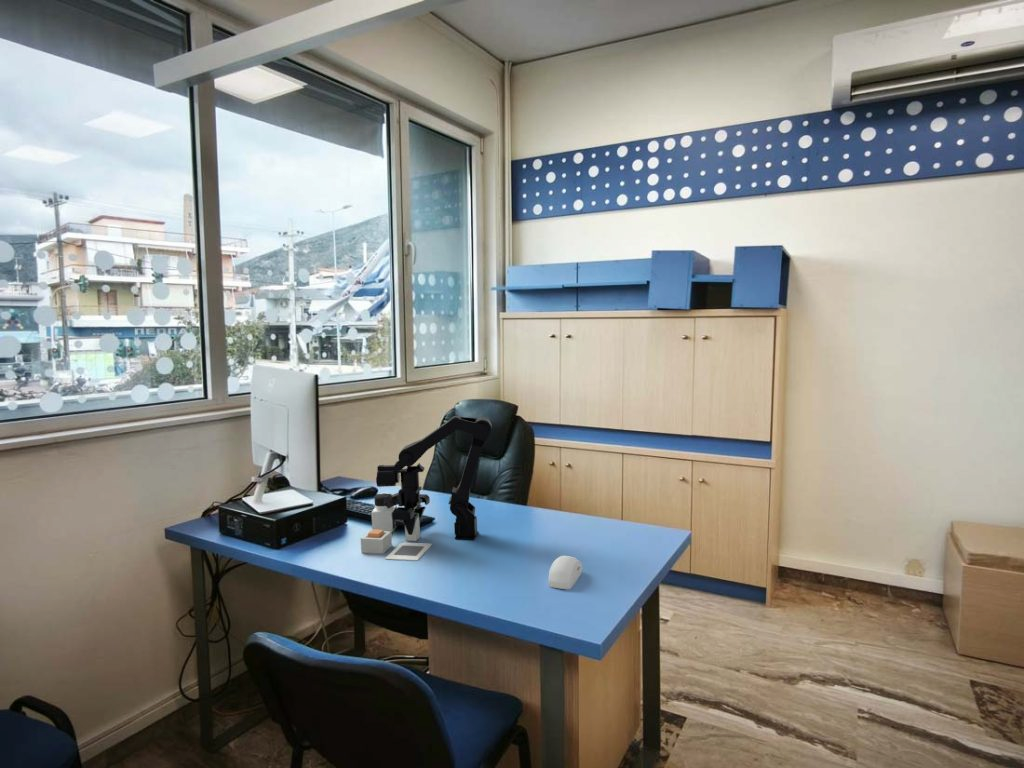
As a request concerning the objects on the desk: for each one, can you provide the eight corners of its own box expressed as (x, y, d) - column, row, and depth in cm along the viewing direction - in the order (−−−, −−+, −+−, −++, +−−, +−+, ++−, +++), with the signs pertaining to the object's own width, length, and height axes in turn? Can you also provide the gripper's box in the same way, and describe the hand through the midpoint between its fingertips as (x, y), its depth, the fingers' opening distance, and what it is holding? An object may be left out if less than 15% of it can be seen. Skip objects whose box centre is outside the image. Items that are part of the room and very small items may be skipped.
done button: (384, 537, 190) (383, 529, 190) (379, 541, 187) (378, 533, 186) (373, 536, 191) (372, 529, 191) (368, 540, 187) (367, 533, 187)
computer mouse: (584, 572, 168) (583, 550, 167) (569, 592, 156) (569, 568, 155) (561, 568, 170) (561, 547, 169) (545, 588, 158) (545, 565, 158)
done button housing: (391, 545, 192) (391, 531, 191) (382, 553, 185) (382, 539, 185) (371, 544, 193) (370, 530, 193) (361, 552, 186) (360, 538, 186)
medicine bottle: (393, 532, 204) (391, 497, 203) (372, 532, 204) (370, 497, 203) (397, 524, 211) (396, 491, 210) (377, 525, 211) (375, 491, 210)
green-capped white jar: (420, 536, 199) (418, 513, 198) (416, 540, 195) (415, 516, 194) (409, 536, 199) (408, 512, 198) (405, 540, 196) (404, 516, 195)
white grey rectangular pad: (431, 544, 191) (431, 543, 191) (417, 561, 179) (417, 559, 178) (401, 543, 193) (401, 541, 193) (385, 559, 181) (385, 557, 181)
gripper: (397, 477, 206) (400, 522, 208) (374, 492, 188) (377, 541, 190) (429, 477, 204) (431, 523, 205) (408, 493, 186) (411, 543, 187)
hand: (412, 532), depth 197 cm, fingers closed on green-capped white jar, 4 cm apart
